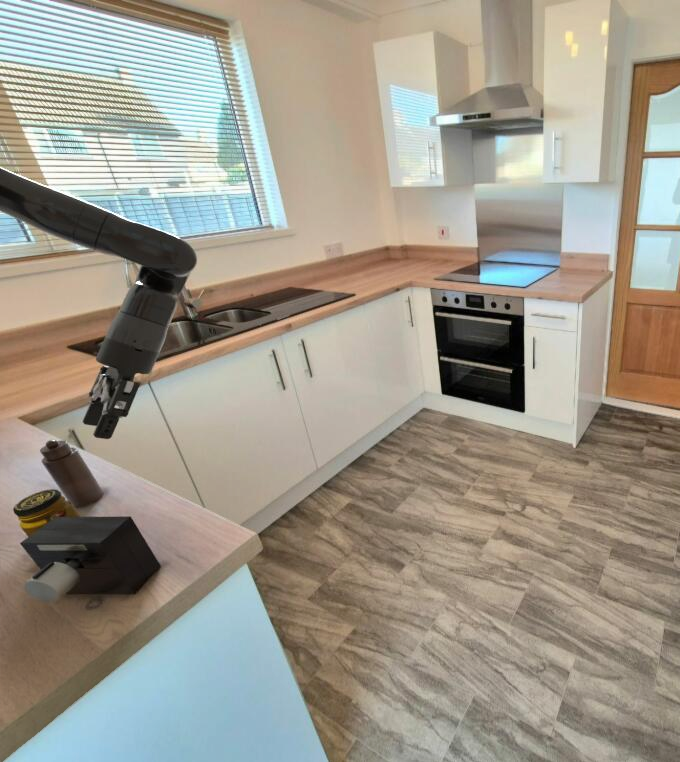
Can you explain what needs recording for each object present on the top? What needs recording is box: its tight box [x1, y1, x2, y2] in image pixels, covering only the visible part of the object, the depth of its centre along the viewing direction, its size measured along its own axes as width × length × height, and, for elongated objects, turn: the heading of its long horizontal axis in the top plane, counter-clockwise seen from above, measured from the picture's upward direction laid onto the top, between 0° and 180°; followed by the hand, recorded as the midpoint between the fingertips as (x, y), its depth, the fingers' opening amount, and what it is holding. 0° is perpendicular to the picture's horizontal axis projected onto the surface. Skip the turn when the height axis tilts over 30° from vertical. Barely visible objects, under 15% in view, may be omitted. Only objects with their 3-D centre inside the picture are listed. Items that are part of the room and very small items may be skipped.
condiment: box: [12, 488, 82, 538], centre depth 69 cm, size 7×8×12 cm
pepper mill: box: [39, 439, 105, 509], centre depth 81 cm, size 5×5×14 cm
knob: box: [23, 558, 81, 603], centre depth 59 cm, size 5×4×5 cm
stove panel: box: [19, 515, 162, 595], centre depth 63 cm, size 5×12×11 cm, turn 87°
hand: (95, 431), depth 73 cm, fingers open, 8 cm apart
